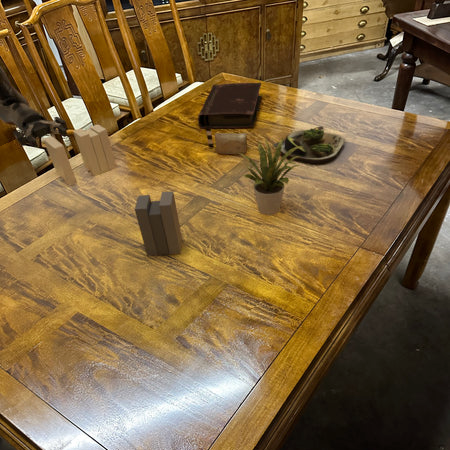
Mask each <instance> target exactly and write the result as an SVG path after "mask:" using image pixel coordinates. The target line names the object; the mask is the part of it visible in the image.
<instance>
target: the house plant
mask: <svg viewBox="0 0 450 450" xmlns="http://www.w3.org/2000/svg"><path fill="white" fill-rule="evenodd" d="M283 140H284V137H282V138H281V139H280V141H278V142H279V144H278V146H277V148H276V149H275V152H274V155H273V153H272V149H271V146H270V144H269V143H268V141H267V140H266V139H264V142H265V145H266V147H267V149H266V147H265V146H262V145H263V144H261V142H260V141H259V140H257V142H256V143H257V148H258V153H259V161H260V164H259V166H260V167H258V165H257V164H256V163H255V162H254V161H253V160H252V158H251V157H249V156H247V155H246V154H245V153H238V154H237V155H241V156H242V157H244V158H245V159H246V160H247V161H248V162H249V163H250V165H251V166H252V167H253V168H254V169H255V170H256V171H257V173H256V171H255V170H254V169H252V168H251V167H250V166H248V165H246V168H247V169H248V171H249V172H250V173H251V174H250V173H245V174H243V175H242V177H245V178H248V179H250V180H252V181H254V182H253V183H254V184H253V191H254V196H255V201H256V206H257V211H258V212H259V214H261V215H264V216H274V215H277V214H278V213H280V211H281V206H282V202H283V201H282V200H283V196H284V191H285V190H286V189H285V184H286V185H288V183H289V181H290V179H289V177H287V176H286V175H287V174H288V173H289V172H290V171H291V170H293V169H294V168H296V167H299V166H300V164H297V163H295V161H293V159H295V158H297V157H301V156H296V157H293V158H291V159H290V160H289V159H288V161H286V162H285V160H286V159H287V158H286V157H287V156H288V155H289V154H291V153H292V152H293V151H294V150H296V149H298V148H301V147H303V146H299V147H295V148H293V149H291V150H289V151H288V152H287V153H286V154H285V155H284V156H283V155H282V157H281V158H280V156H281V154H282V153H281V149H282V142H283ZM279 158H280V161H279ZM278 161H279V162H278ZM283 163H284V164H283ZM288 164H292V166H289V165H288ZM258 174H259V175H258Z"/></svg>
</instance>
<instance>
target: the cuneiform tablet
mask: <svg viewBox="0 0 450 450" xmlns="http://www.w3.org/2000/svg"><path fill="white" fill-rule="evenodd" d="M204 129H205V133H206V140H207V144H208V148H209V147H214V143H215V149H216V154H224V155H232V154H233V155H236V154H237V155H239V154H238V153H242V154H248V137H247V136H248V134H247V133H246V132H242V133H232V132H231V133H230V132H229V133H228V132H227V133H225V132H224V133H223V132H221V133H219V132H218V133H215V134H214V141H213V135H212V128H211V127H210V126H205V128H204Z"/></svg>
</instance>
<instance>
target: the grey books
mask: <svg viewBox="0 0 450 450" xmlns="http://www.w3.org/2000/svg"><path fill="white" fill-rule="evenodd" d="M136 199H137V200H136V203H135V206H134V213H135V216H136V217H135V218H136V220H137V223H138V227H139V231H140V234H141V238H142V242H143V245H144V249H145V252H146V255H147V257H150V256H165V255H167V256H168V255H181V253H182V247H183V246H182V245H183V236H182V230H181V226H180V220H179V214H178V209H177V204H176V199H175V194H174V191H173V190H171V191H170V190H169V191H162V192H161V195H160V199H159V200H152V198H151V195H150V194H141V195H138V196H137V198H136Z"/></svg>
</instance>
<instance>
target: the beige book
mask: <svg viewBox="0 0 450 450" xmlns="http://www.w3.org/2000/svg"><path fill="white" fill-rule="evenodd" d="M42 140H43V143H44V145H45V147H46V150H47V153H48V155H49V158H50V160H51V163H52V165H53V168H54V171H55V173H56V174H57V175H58V176H59V177H60V178H62V181H63V182H64V183H65V184H66V185H67V184H68V185H69V186H68V185H67V186H68V187H71V185H72V186H74V185H76V184H78V181H77V178H76V176H75V173H74V170H73V168H72V165H71V161H70V159H69V157H68V154H67V152H66V149H65V147H64V144H62V143H61V142H60V141H58V139H56V138H55V137H53V135H50V136H47V137H45V138H44V137H43V138H42ZM75 183H76V184H75ZM73 184H74V185H73Z"/></svg>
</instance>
